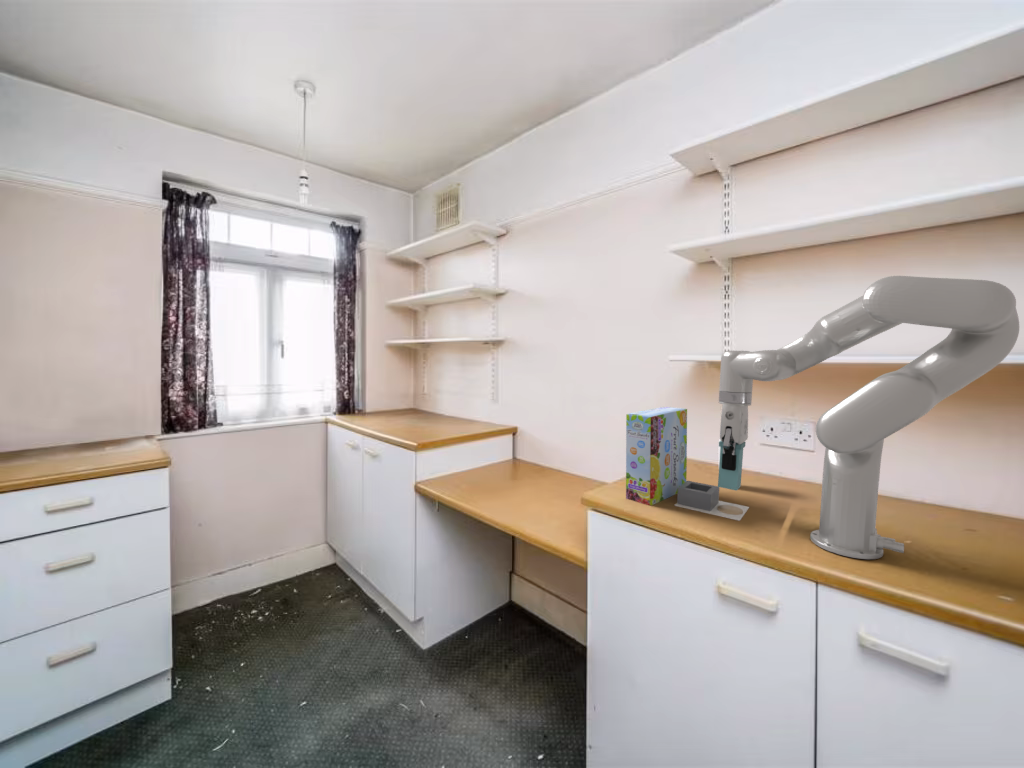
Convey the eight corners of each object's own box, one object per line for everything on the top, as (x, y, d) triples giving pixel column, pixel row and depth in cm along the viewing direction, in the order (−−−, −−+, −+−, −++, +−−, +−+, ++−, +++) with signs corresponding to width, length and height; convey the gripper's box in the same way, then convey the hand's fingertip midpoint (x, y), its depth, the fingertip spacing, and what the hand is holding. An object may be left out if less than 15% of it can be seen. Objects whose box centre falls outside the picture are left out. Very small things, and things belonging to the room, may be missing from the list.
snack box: (660, 485, 134) (663, 405, 132) (687, 492, 128) (690, 408, 126) (622, 501, 120) (625, 412, 118) (650, 510, 113) (653, 415, 111)
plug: (742, 486, 111) (745, 441, 110) (738, 491, 107) (741, 445, 106) (721, 482, 114) (723, 438, 113) (716, 486, 110) (719, 441, 109)
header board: (749, 510, 113) (750, 490, 113) (739, 524, 104) (740, 502, 104) (687, 497, 123) (688, 479, 123) (673, 508, 114) (674, 489, 114)
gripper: (744, 402, 100) (739, 477, 101) (757, 397, 113) (753, 463, 114) (710, 400, 104) (706, 471, 106) (726, 394, 117) (723, 458, 119)
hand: (730, 466), depth 110 cm, fingers closed on plug, 4 cm apart
